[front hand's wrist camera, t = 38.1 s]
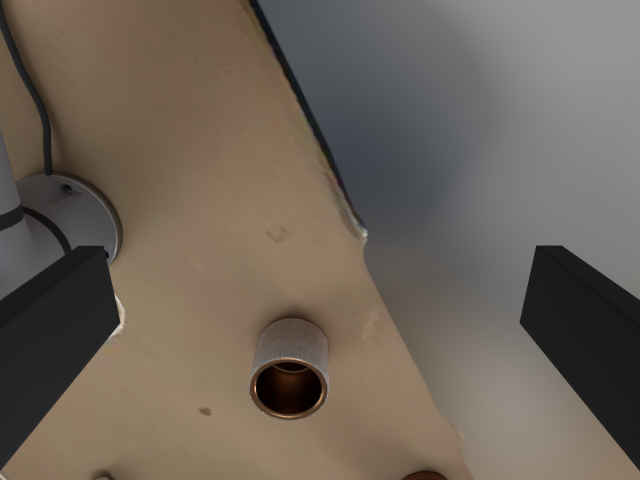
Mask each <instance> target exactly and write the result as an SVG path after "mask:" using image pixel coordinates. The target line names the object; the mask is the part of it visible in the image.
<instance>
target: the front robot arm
mask: <svg viewBox="0 0 640 480" xmlns="http://www.w3.org/2000/svg"><path fill="white" fill-rule="evenodd" d="M0 28H1V31H2V34H3V36H4V39H5V41H6V43H7V46H8V48H9V51H10V53H11V56H12V58H13V61H14V63H15V65H16V68H17V70H18V72H19V74H20V76H21V78H22V80H23V82H24V83H25V85H26V87H27V89H28V91H29V92H30V94H31V96H32V98H33V100H34V102H35V104H36V106H37V109H38V111H39V114H40V117H41V121H42V125H43V151H44V164H45V172H42V173H37V174H34V175H31V176H28V177H25V178H23V179H20V180H18V181H17V182H15V179H14V176H13V172H12V169H11V165H10V162H9V158H8V154H7V151H6V147H5V144H4V140H3V137H2V133H1V130H0V471H1V469H2V468H3V467H4V466H5V465H6V463H7V462H8V461H9V460H10V458H11V457H12V456H13V455H14V453H15V452H16V451H17V450H18V449H19V447H20V446H21V445H22V444H23V442H24V441H25V440H26V439H27V437H28V436H29V435H30V434H31V433H32V431H33V430H34V429H35V428H36V426H37V425H38V424H39V423H40V421H41V420H42V419H43V418H44V416H45V415H46V414H47V413H48V412H49V410H50V409H51V408H52V407H53V405H54V404H55V403H56V402H57V400H58V399H59V398H60V397H61V396H62V394H63V393H64V392H65V391H66V389H67V388H68V387H69V386H70V384H71V383H72V382H73V381H74V380H75V378H76V377H77V376H78V375H79V373H80V372H81V371H82V370H83V368H84V367H85V366H86V365H87V364H88V362H89V361H90V360H91V359H92V357H93V356H94V355H95V354H96V352H97V351H98V350H99V349H100V348H101V346H102V345H103V344H104V343H105V341H106V340H107V339H108V338H109V336H110V335H111V334H112V333H113V331H114V330H115V329H116V328H117V327H118V325H119V324H120V318H119V314H118V309H117V305H116V300H115V295H114V291H113V286H112V282H111V277H110V272H109V268H108V267H109V266H110V265H111V264H112V263H113V262H114V260H115V259H116V257H117V256H118V254H119V251H120V248H121V244H122V229H121V224H120V221H119V218H118V215H117V213H116V211H115V209H114V208H113V206H112V205H111V203H110V202H109V201H108V199H107V198H106V197H105V196H104V195H103V194H102V193H101V192H100V191H99V190H98V189H97V188H95V187H94V186H93V185H91V184H90V183H88V182H86V181H85V180H83V179H81V178H78V177H76V176H73V175H70V174H66V173H61V172H53V170H52V157H51V128H50V122H49V118H48V115H47V112H46V109H45V107H44V104H43V102H42V100H41V98H40V96H39V94H38V92H37V90H36V88H35V87H34V85H33V83H32V81H31V79H30V77H29V75H28V73H27V71H26V69H25V67H24V65H23V63H22V60H21V58H20V55H19V53H18V50H17V48H16V45H15V43H14V40H13V38H12V35H11V33H10V30H9V27H8V24H7V22H6V18H5V15H4V12H3V8H2V3H1V0H0ZM0 122H1V118H0ZM520 324H521V325H522V327H523V328H524V329H525V330H526V331H527V333H528V334H529V335H530V336H531V338H532V339H533V340H534V341H535V343H536V344H537V345H538V346H539V348H540V349H541V350H542V351H543V352H544V354H545V355H546V356H547V357H548V359H549V360H550V361H551V362H552V364H553V365H554V366H555V367H556V368H557V370H558V371H559V372H560V373H561V375H562V376H563V377H564V378H565V379H566V381H567V382H568V383H569V384H570V386H571V387H572V388H573V389H574V391H575V392H576V393H577V394H578V396H579V397H580V398H581V399H582V400H583V402H584V403H585V404H586V405H587V407H588V408H589V409H590V410H591V412H592V413H593V414H594V415H595V416H596V418H597V419H598V420H599V421H600V423H601V424H602V425H603V426H604V428H605V429H606V430H607V431H608V433H609V434H610V435H611V436H612V437H613V439H614V440H615V441H616V442H617V444H618V445H619V446H620V447H621V448H622V450H623V451H624V452H625V453H626V455H627V456H628V457H629V458H630V460H631V461H632V462H633V463H634V465H635V466H636V467H637V468H638V469H639V471H640V300H639V299H637V298H636V297H635V296H633V295H632V294H630V293H629V292H627V291H626V290H625V289H623V288H622V287H620V286H619V285H617V284H616V283H615V282H613V281H612V280H610V279H609V278H607V277H606V276H604V275H603V274H602V273H600V272H599V271H597V270H596V269H594V268H593V267H592V266H590V265H589V264H587V263H586V262H584V261H583V260H582V259H580V258H579V257H577V256H576V255H574V254H573V253H572V252H570V251H569V250H567V249H566V248H564V247H563V246H536V250H535V254H534V259H533V263H532V268H531V272H530V277H529V282H528V286H527V291H526V296H525V300H524V305H523V309H522V314H521V318H520Z"/></svg>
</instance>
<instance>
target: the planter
mask: <svg viewBox="0 0 640 480" xmlns="http://www.w3.org/2000/svg"><path fill="white" fill-rule="evenodd" d="M248 390H249V395H250V398H251V400H252V402H253V403H254V405H255V406H256V407H257V408H258V409H259V410H260V411H262V412H263V413H265V414H266V415H268V416H271V417H273V418H276V419H281V420H298V419H303V418H306V417H309V416H311V415H313V414H314V413H316V412H317V411H318V410H319V409H320V408H321V407H322V406H323V405H324V404H325V402H326V400H327V397H328V392H329V376H328V344H327V340H326V337H325V335H324V334H323V332H322V331H321V330H320V329H319V328H318V327H317V326H316V325H314V324H313V323H311V322H309V321H306V320H303V319H298V318H286V319H281V320H278V321H275V322H273V323H272V324H270V325H269V326H267V327H266V328H265V329H264V331H263V332H262V333H261V335H260V337H259V339H258V342H257V347H256V352H255V356H254V361H253V366H252V371H251V375H250V380H249V386H248Z"/></svg>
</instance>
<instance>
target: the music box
mask: <svg viewBox="0 0 640 480" xmlns="http://www.w3.org/2000/svg"><path fill="white" fill-rule="evenodd" d="M403 480H447V479H446V478H444V477H443V476H441V475H439V474H436V473H430V472H422V473H416V474H413V475H410V476H408V477H406V478H405V479H403Z"/></svg>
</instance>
